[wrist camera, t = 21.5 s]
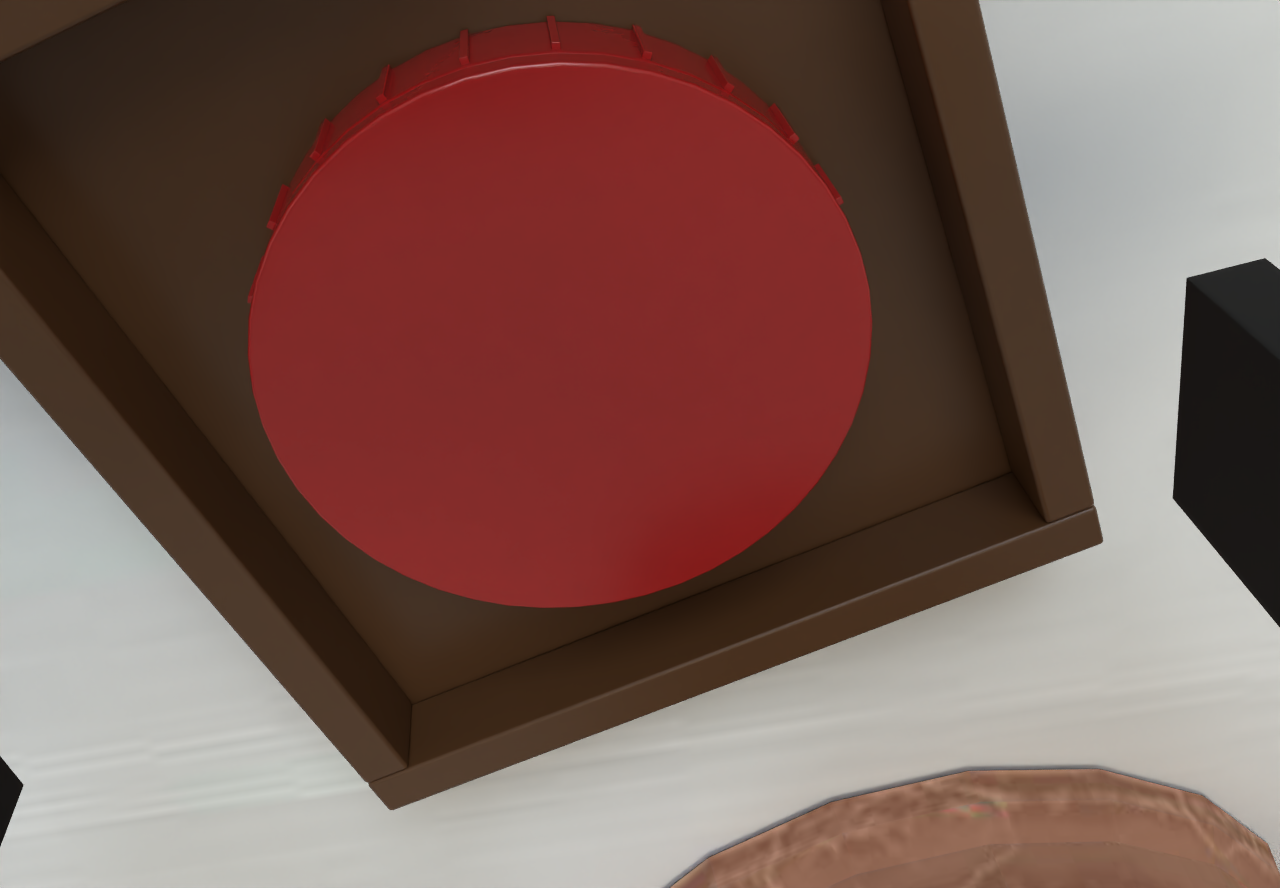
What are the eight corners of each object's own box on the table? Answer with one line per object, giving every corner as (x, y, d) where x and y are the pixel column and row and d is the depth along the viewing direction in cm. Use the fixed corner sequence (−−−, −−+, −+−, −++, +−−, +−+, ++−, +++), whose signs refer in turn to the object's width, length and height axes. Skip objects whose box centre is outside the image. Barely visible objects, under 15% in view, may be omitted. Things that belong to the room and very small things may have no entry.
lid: (780, 545, 20) (805, 618, 18) (274, 528, 18) (256, 605, 17) (904, 52, 15) (950, 95, 14) (250, -21, 14) (224, 19, 13)
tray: (-157, 35, 14) (-239, 86, 13) (822, -454, 13) (873, -469, 11) (396, 724, 22) (390, 813, 20) (1053, 471, 20) (1105, 543, 19)
